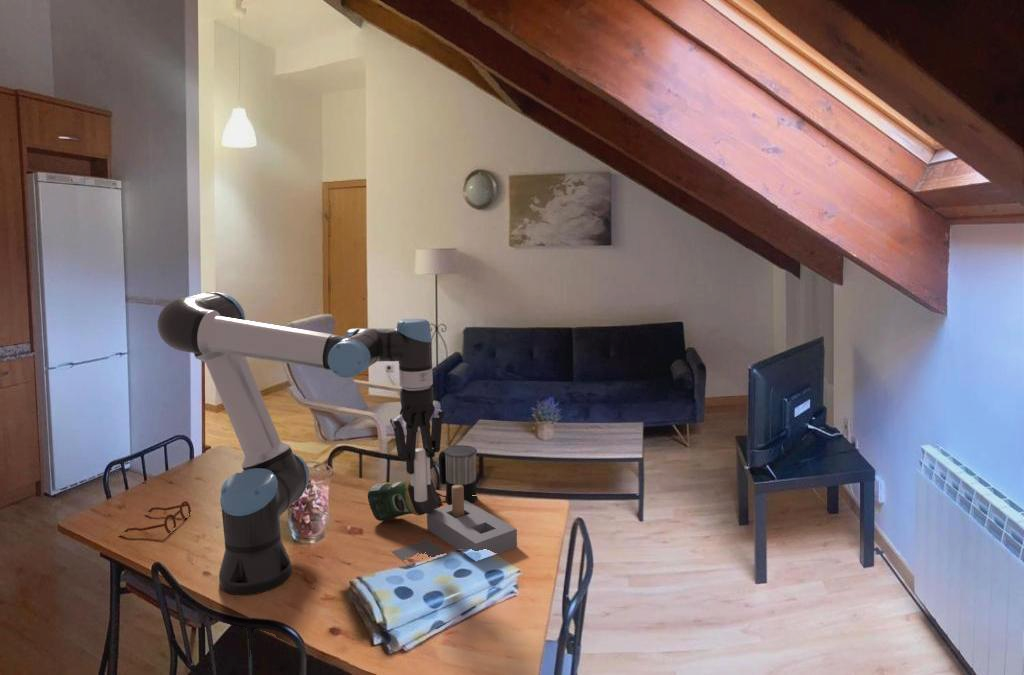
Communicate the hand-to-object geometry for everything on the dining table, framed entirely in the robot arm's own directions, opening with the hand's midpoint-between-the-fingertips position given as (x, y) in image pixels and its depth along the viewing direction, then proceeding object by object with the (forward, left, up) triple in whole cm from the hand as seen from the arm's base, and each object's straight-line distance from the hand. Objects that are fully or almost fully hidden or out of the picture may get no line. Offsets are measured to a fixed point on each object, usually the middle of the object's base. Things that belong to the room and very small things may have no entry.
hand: (420, 484), depth 159 cm
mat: (-1, 0, -18) cm, 18 cm away
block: (+13, -1, -18) cm, 22 cm away
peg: (0, 0, -4) cm, 4 cm away
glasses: (-47, +58, -18) cm, 77 cm away
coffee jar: (+1, +25, -13) cm, 29 cm away
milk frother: (+21, +22, -18) cm, 36 cm away
